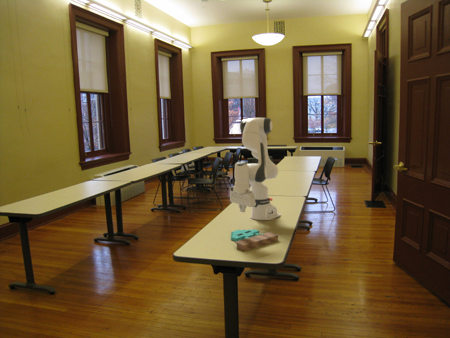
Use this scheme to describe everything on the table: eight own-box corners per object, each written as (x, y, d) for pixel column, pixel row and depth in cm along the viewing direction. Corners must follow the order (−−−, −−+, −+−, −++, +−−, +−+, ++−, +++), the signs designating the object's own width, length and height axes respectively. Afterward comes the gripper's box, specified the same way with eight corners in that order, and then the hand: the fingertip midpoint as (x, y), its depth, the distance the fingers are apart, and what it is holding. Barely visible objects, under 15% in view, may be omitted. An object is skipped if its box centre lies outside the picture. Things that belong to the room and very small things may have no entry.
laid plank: (268, 237, 218) (268, 231, 218) (278, 240, 212) (278, 235, 212) (234, 247, 203) (234, 241, 203) (243, 251, 197) (243, 245, 196)
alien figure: (270, 237, 219) (246, 230, 234) (270, 233, 219) (246, 227, 234) (247, 245, 206) (223, 237, 221) (247, 242, 206) (223, 234, 220)
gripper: (257, 190, 209) (258, 214, 211) (236, 186, 226) (236, 208, 227) (249, 192, 205) (249, 216, 207) (227, 187, 222) (228, 209, 224)
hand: (242, 211), depth 217 cm, fingers closed
